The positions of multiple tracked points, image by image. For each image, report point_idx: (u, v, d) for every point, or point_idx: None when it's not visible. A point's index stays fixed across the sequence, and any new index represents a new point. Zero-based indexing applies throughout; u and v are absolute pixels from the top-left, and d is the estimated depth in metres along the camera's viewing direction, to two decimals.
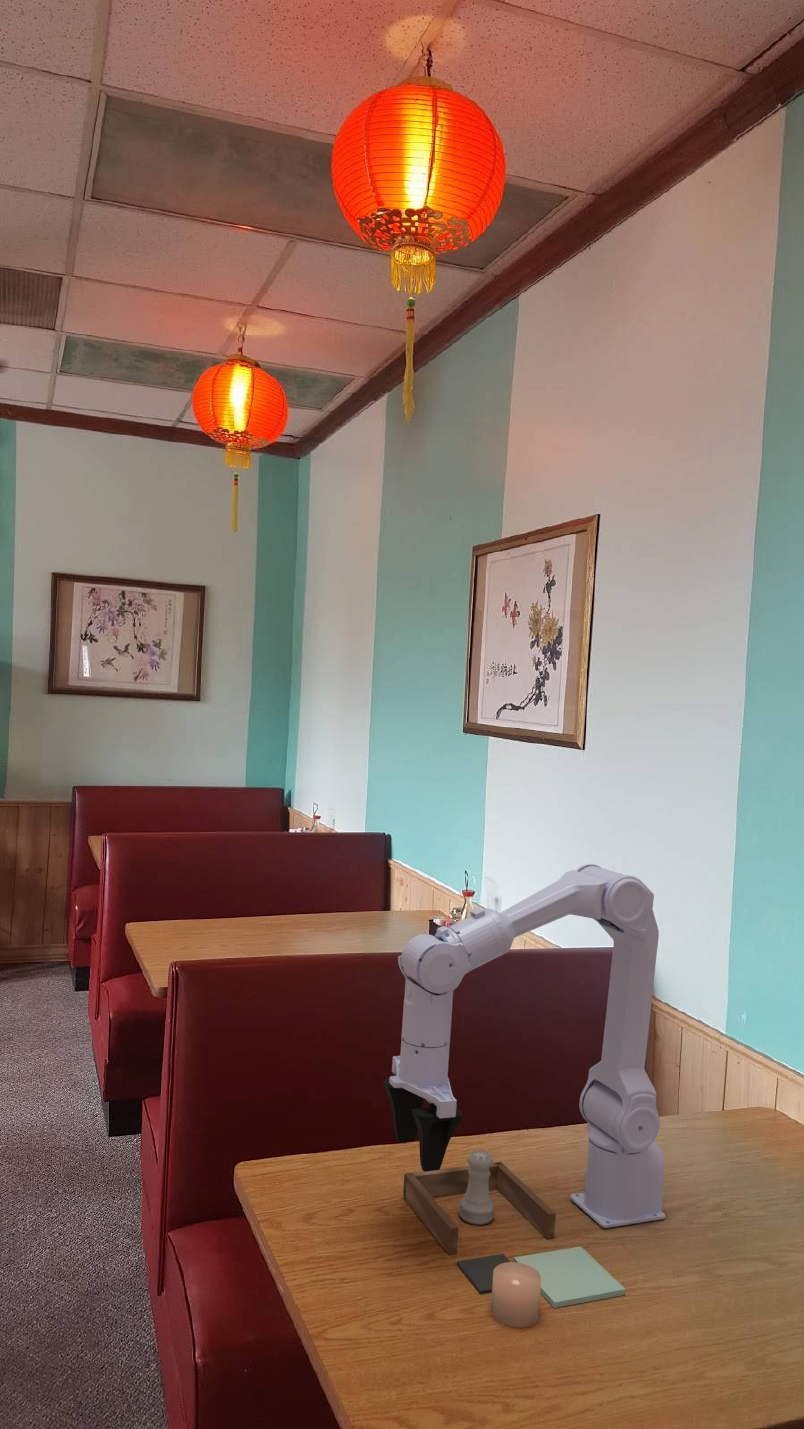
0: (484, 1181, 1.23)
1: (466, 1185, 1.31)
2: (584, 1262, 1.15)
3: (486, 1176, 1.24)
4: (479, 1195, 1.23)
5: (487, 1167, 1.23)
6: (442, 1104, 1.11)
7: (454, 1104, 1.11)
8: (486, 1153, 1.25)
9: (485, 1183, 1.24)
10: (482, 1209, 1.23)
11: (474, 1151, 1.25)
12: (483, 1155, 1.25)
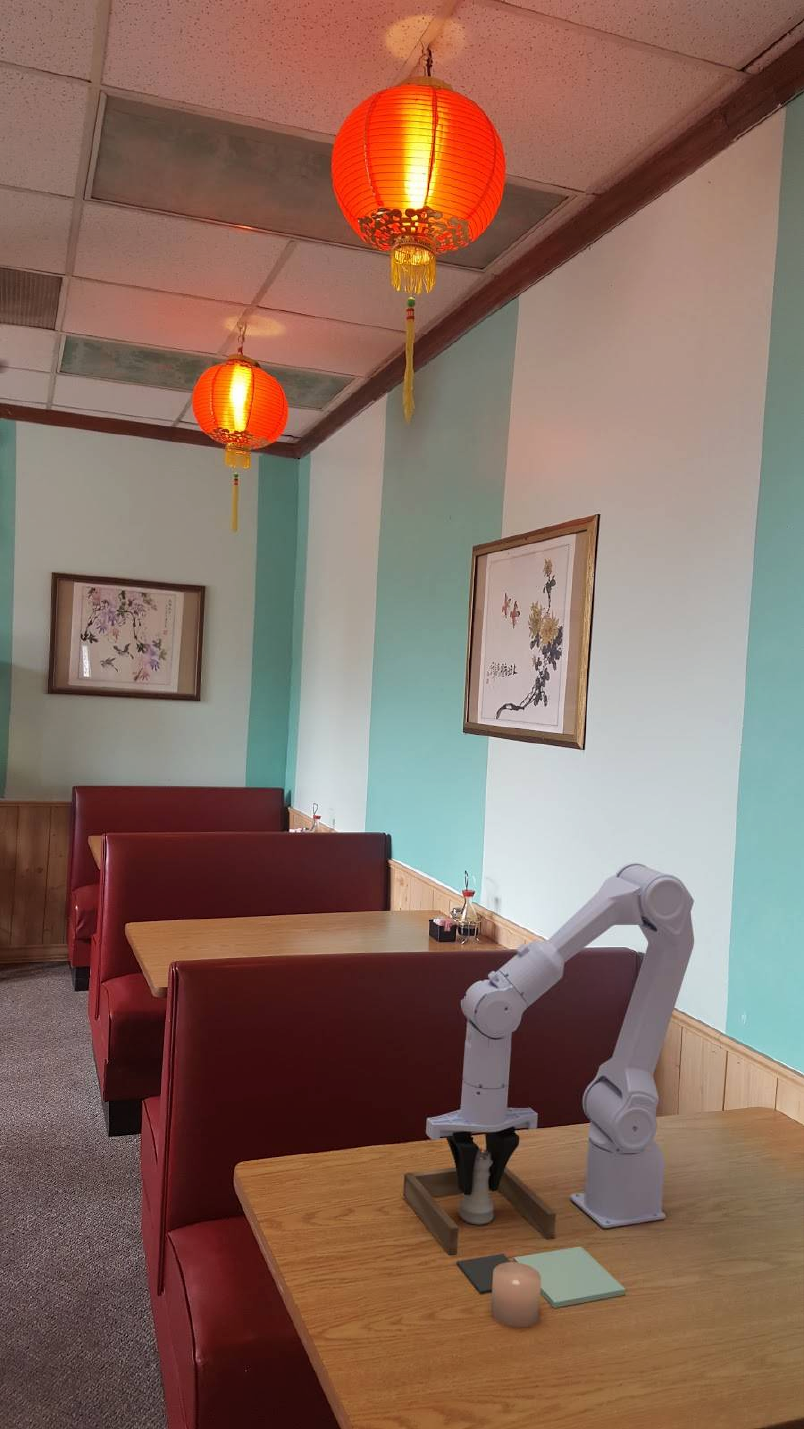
0: (484, 1181, 1.23)
1: None
2: (584, 1262, 1.15)
3: (486, 1176, 1.24)
4: (479, 1195, 1.23)
5: (487, 1167, 1.23)
6: (427, 1121, 1.22)
7: (432, 1127, 1.21)
8: (486, 1153, 1.25)
9: (485, 1183, 1.24)
10: (482, 1209, 1.23)
11: None
12: (483, 1155, 1.25)
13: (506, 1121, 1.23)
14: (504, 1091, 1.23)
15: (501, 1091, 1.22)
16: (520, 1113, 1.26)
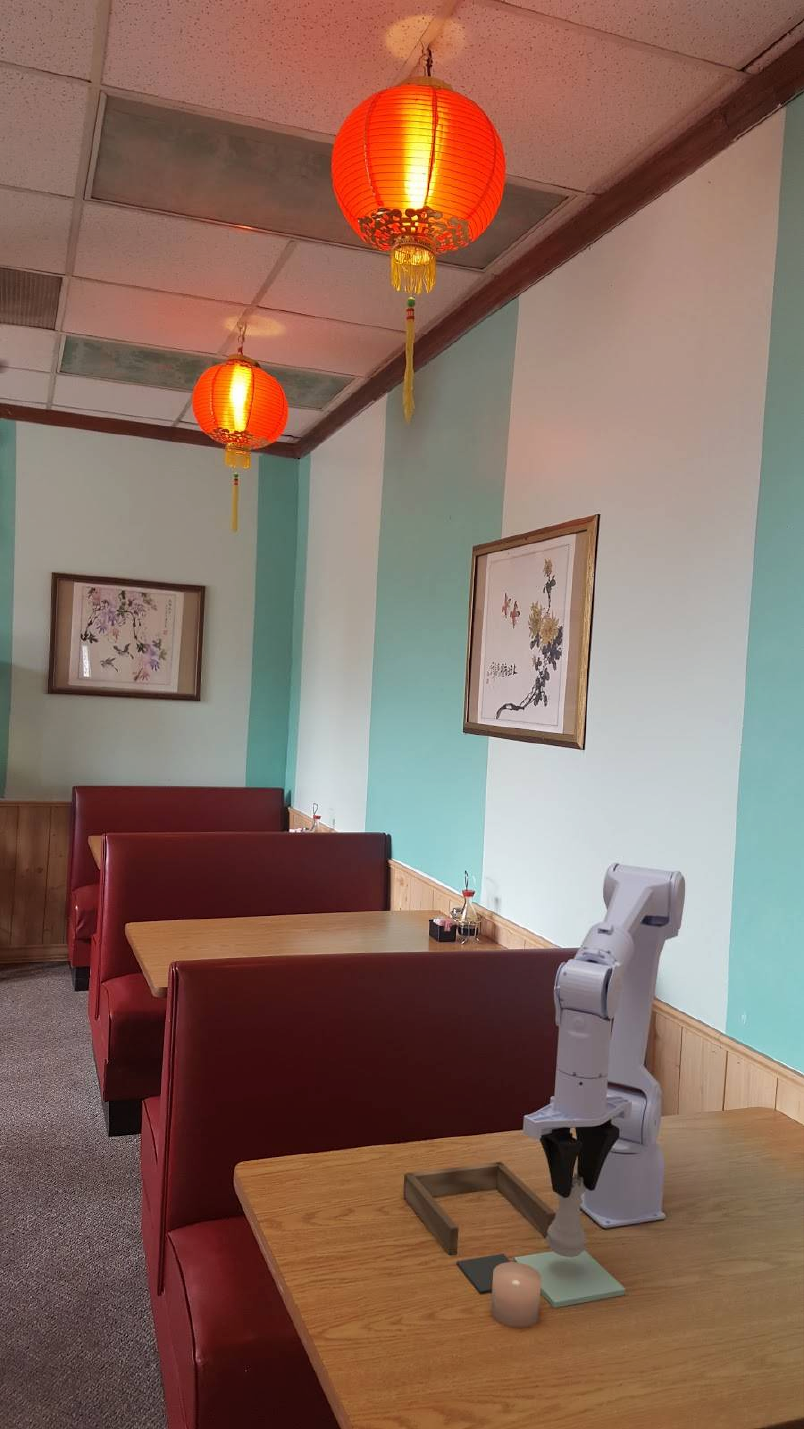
0: (577, 1209, 1.12)
1: (466, 1185, 1.31)
2: (584, 1262, 1.15)
3: (580, 1203, 1.12)
4: (572, 1225, 1.11)
5: (582, 1193, 1.12)
6: (525, 1119, 1.09)
7: (533, 1125, 1.08)
8: (576, 1177, 1.13)
9: (578, 1211, 1.12)
10: (576, 1239, 1.11)
11: None
12: (575, 1180, 1.13)
13: (607, 1112, 1.11)
14: (606, 1079, 1.11)
15: (604, 1080, 1.10)
16: (614, 1102, 1.15)
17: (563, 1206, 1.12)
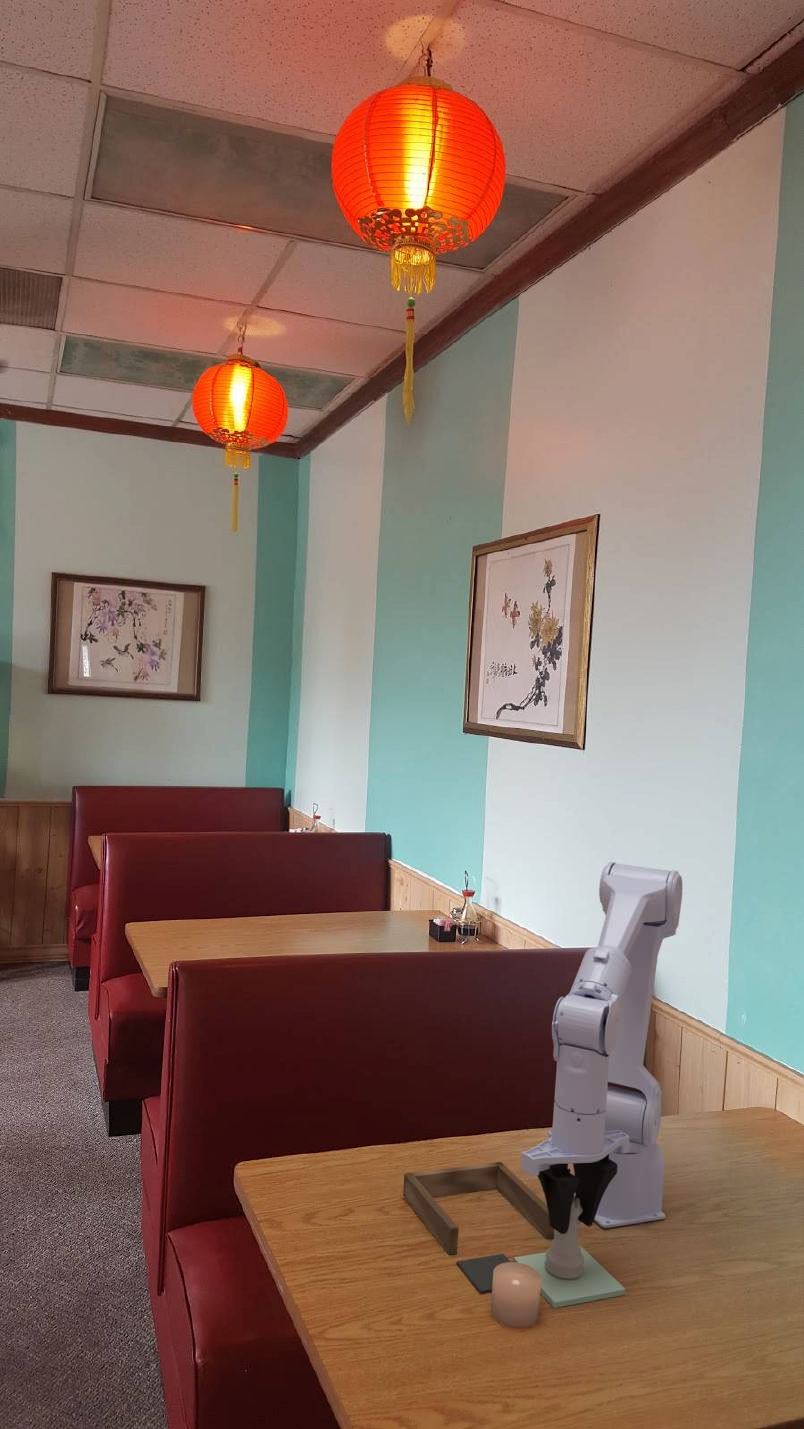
0: (575, 1231, 1.12)
1: (466, 1185, 1.31)
2: (584, 1262, 1.15)
3: (577, 1225, 1.12)
4: (570, 1247, 1.11)
5: None
6: (522, 1155, 1.09)
7: (531, 1162, 1.08)
8: (573, 1198, 1.13)
9: (575, 1233, 1.12)
10: (574, 1262, 1.11)
11: None
12: None
13: (604, 1148, 1.11)
14: (604, 1115, 1.11)
15: (602, 1116, 1.10)
16: (611, 1137, 1.15)
17: None
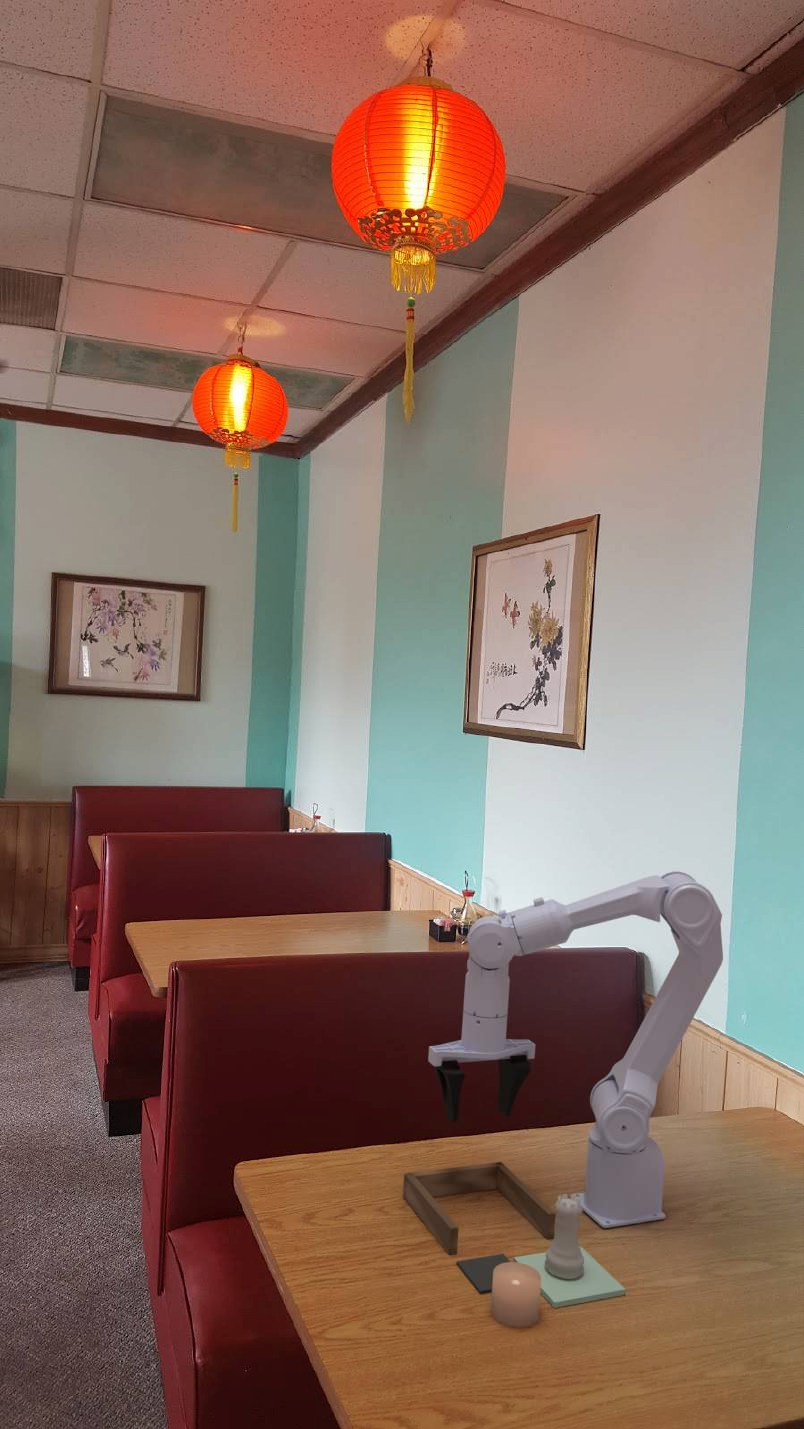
0: (575, 1231, 1.12)
1: (466, 1185, 1.31)
2: (584, 1262, 1.15)
3: (577, 1225, 1.12)
4: (570, 1247, 1.11)
5: None
6: (429, 1049, 1.28)
7: (434, 1054, 1.26)
8: (573, 1198, 1.13)
9: (575, 1233, 1.12)
10: (574, 1262, 1.11)
11: (560, 1197, 1.13)
12: (571, 1201, 1.13)
13: (505, 1050, 1.29)
14: (503, 1020, 1.28)
15: (500, 1020, 1.28)
16: (518, 1043, 1.32)
17: (560, 1228, 1.12)
